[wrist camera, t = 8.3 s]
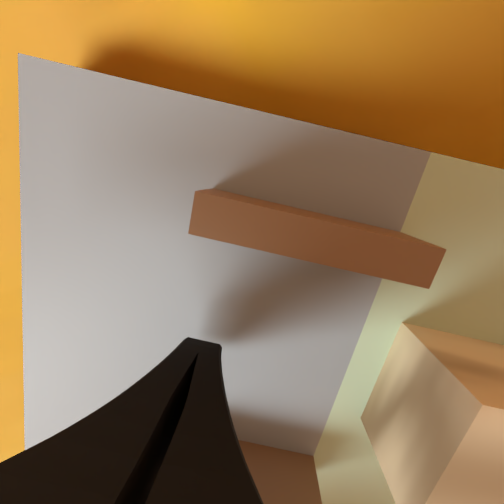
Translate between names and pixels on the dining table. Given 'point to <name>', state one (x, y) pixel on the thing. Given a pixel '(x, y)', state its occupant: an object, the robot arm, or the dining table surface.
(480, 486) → the maple block
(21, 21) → the dining table surface
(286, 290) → the tunnel deck
